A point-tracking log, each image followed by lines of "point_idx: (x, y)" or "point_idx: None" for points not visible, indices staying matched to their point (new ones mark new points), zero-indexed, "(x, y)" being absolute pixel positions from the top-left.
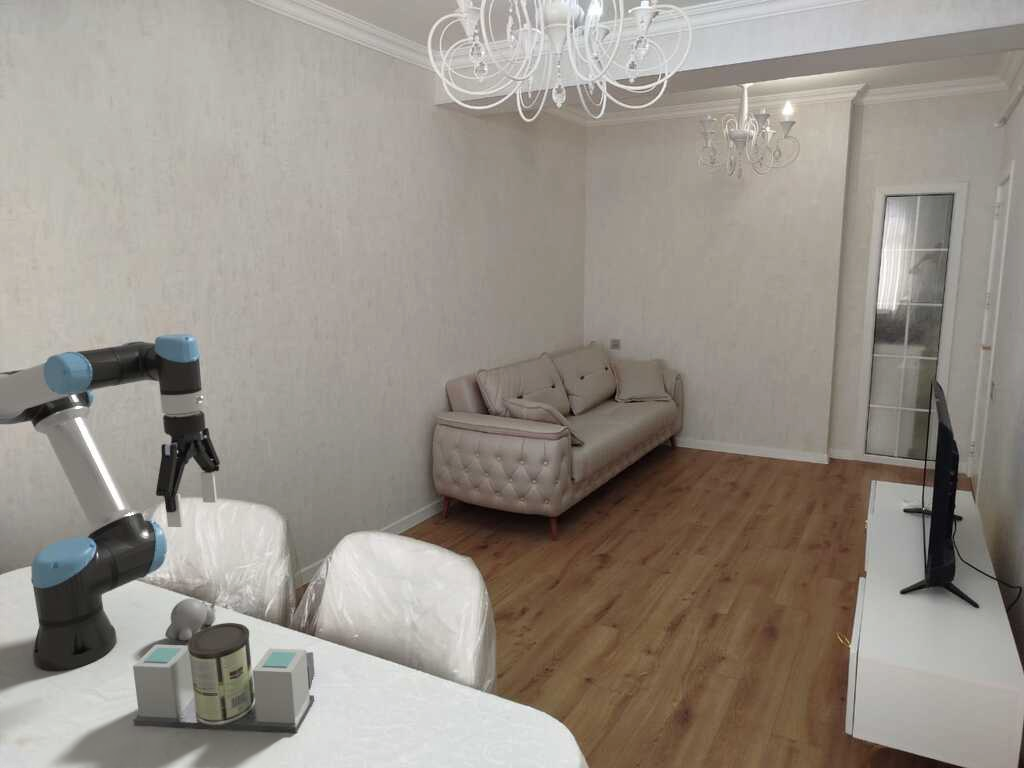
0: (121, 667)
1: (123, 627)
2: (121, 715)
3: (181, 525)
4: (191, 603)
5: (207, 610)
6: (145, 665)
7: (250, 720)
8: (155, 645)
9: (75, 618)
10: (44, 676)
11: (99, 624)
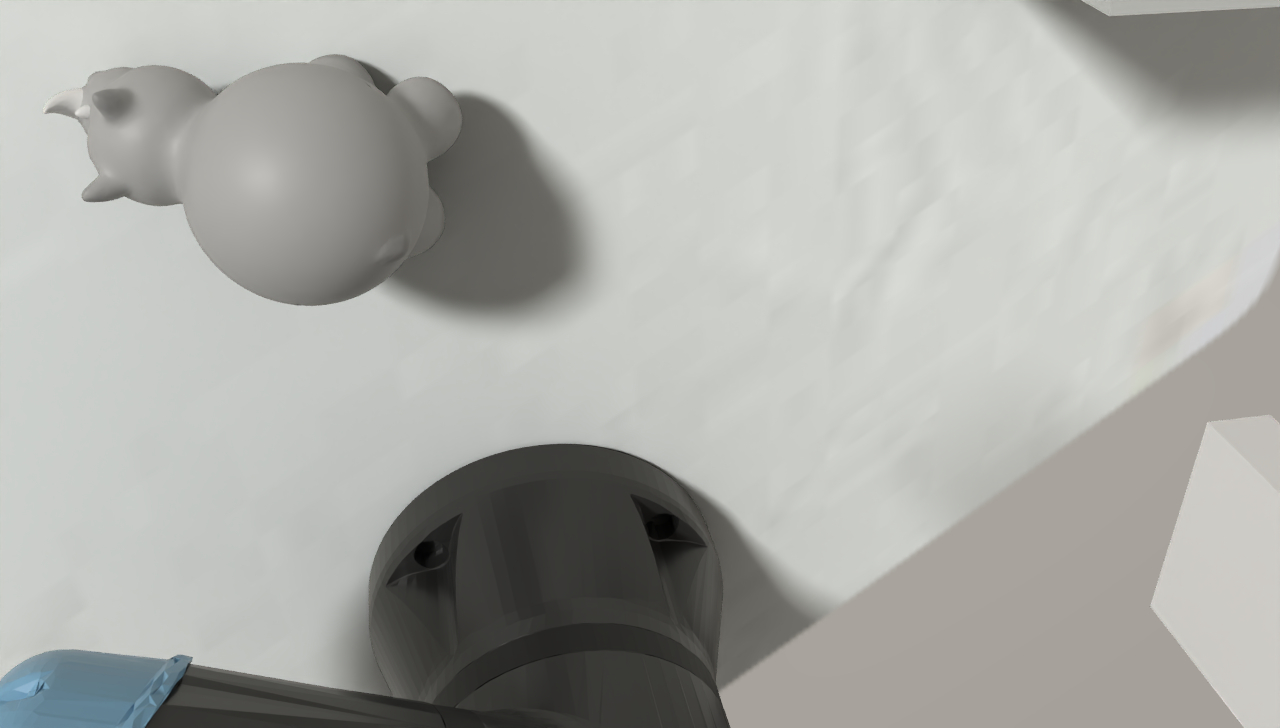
0: (665, 304)
1: (301, 535)
2: (1060, 43)
3: (1272, 430)
4: (322, 189)
5: (177, 109)
6: None
7: None
8: (1121, 8)
9: (689, 669)
10: (746, 558)
11: (569, 574)
